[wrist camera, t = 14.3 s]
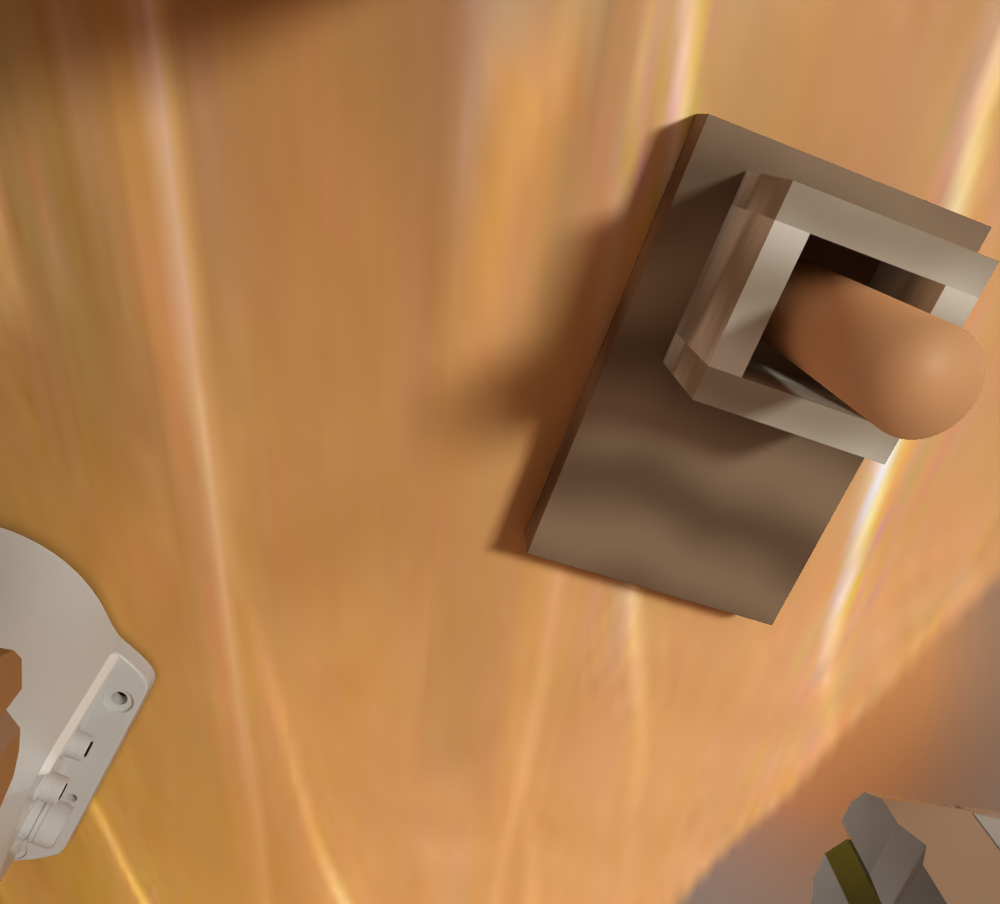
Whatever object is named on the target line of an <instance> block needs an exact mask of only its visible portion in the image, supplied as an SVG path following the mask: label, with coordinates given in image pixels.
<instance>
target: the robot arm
mask: <svg viewBox="0 0 1000 904" xmlns="http://www.w3.org/2000/svg"><path fill="white" fill-rule="evenodd" d="M154 681H155V673H154V670H153V668H152V667H151V665H150V664H149V663H148V662H147V660H146V659H145V658H144V657H143V656H141V655H140V654H139V653H138V652H137V651H136V650H135V649H134V648H133V647H131V646H130V645H129V644H128V643H127V642H126V641H124V640H123V639H122V638H121V637H120V636H119V635H118V633H117V632H116V630H115V629H114V627H113V625H112V624H111V622H110V620H109V618H108V616H107V614H106V612H105V610H104V608H103V606H102V604H101V603H100V601H99V599H98V598H97V596H96V595H95V593H94V592H93V590H92V589H91V588H90V587H89V585H88V584H87V583H86V582H85V581H84V580H83V578H82V577H81V576H80V575H79V574H78V573H77V572H76V571H75V570H74V569H73V568H71V567H70V566H69V565H68V564H67V563H66V562H64V561H63V560H62V559H61V558H59V557H58V556H57V555H55V554H54V553H52V552H51V551H49V550H48V549H46V548H45V547H43V546H41V545H40V544H38V543H36V542H34V541H32V540H30V539H28V538H26V537H24V536H22V535H19V534H17V533H15V532H12V531H9V530H6V529H4V528H0V881H1V879H2V878H3V876H4V875H5V873H6V871H7V870H8V868H9V867H10V865H11V863H12V862H13V860H29V859H37V858H43V857H48V856H52V855H56V854H58V853H60V852H61V851H62V850H63V849H64V848H65V846H66V845H67V843H68V842H69V840H70V839H71V837H72V836H73V834H74V833H75V831H76V829H77V827H78V825H79V823H80V822H81V820H82V818H83V816H84V814H85V812H86V810H87V808H88V806H89V805H90V803H91V801H92V799H93V797H94V795H95V793H96V791H97V790H98V788H99V786H100V784H101V782H102V780H103V778H104V776H105V775H106V773H107V771H108V769H109V767H110V765H111V763H112V761H113V759H114V758H115V756H116V754H117V752H118V750H119V748H120V746H121V744H122V743H123V741H124V739H125V737H126V735H127V733H128V731H129V729H130V728H131V726H132V724H133V722H134V720H135V718H136V716H137V714H138V712H139V711H140V709H141V707H142V705H143V703H144V701H145V699H146V697H147V696H148V694H149V692H150V690H151V688H152V686H153V684H154ZM118 692H122V693H124V694H125V695H126V696H122V695H120V694H119V693H118ZM842 824H843V828H844V831H845V834H846V837H847V839H846V840H845V841H843V842H842V843H840V844H839V845H837V846H836V847H834V848H832V849H831V850H829V851H828V852H826V853H825V854H824V856H823V859H822V861H821V863H820V865H819V867H818V870H817V872H816V874H815V876H814V879H813V896H812V904H1000V812H998V811H990V810H984V809H977V808H970V807H963V806H955V807H952V806H948V805H942V804H935V803H929V802H923V801H917V800H910V799H904V798H897V797H892V796H885V795H878V794H873V793H866V792H864V793H863V794H861V795H860V796H859V797H858V798H856V799H855V800H854V801H852V802H851V804H850V806H849V807H848V810H847V811H846V813H845V815H844V817H843V819H842Z"/></svg>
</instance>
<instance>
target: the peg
mask: <svg viewBox="0 0 1000 904" xmlns="http://www.w3.org/2000/svg"><path fill="white" fill-rule="evenodd" d="M761 339H762V340H764V341H765V342H766V343H768V344H769V345H770V346H772V347H773V348H774V349H775V350H777V351H778V352H779V353H781V354H782V355H783V356H785V357H786V358H787V359H788V360H790V361H791V362H792V363H794V364H795V365H796V366H798V367H799V368H800V369H802V370H803V371H804V372H805V373H807V374H808V375H809V376H811V377H812V378H813V379H815V380H816V381H817V382H818V383H820V384H821V385H822V386H824V387H825V388H826V389H828V390H829V391H830V392H832V393H833V394H834V395H835V396H837V397H838V398H839V399H841V400H842V401H843V402H845V403H846V404H847V405H849V406H850V407H851V408H852V409H854V410H855V411H856V412H858V413H859V414H860V415H862V416H863V417H864V418H865V419H867V420H868V421H869V422H871V423H872V424H873V425H875V426H876V427H877V428H879V429H880V430H881V431H883V432H884V433H886V434H888V435H890V436H893V437H896V438H900V439H907V440H916V439H924V438H928V437H932V436H934V435H937V434H939V433H941V432H943V431H945V430H947V429H949V428H950V427H952V426H954V425H955V424H956V423H957V422H959V421H960V420H961V419H962V418H963V417H964V416H965V415H966V414H967V413H968V412H969V410H970V409H971V408H972V407H973V405H974V403H975V402H976V400H977V398H978V396H979V394H980V392H981V389H982V387H983V383H984V379H985V359H984V355H983V352H982V349H981V347H980V345H979V343H978V342H977V341H976V339H975V338H974V337H973V336H972V335H971V334H970V333H969V332H968V331H966V330H965V329H963V328H961V327H959V326H957V325H955V324H952V323H950V322H948V321H945V320H943V319H941V318H939V317H936V316H934V315H932V314H929V313H927V312H925V311H923V310H920V309H918V308H916V307H913V306H911V305H909V304H907V303H904V302H902V301H900V300H897V299H895V298H893V297H891V296H888V295H886V294H884V293H881V292H879V291H877V290H874V289H872V288H870V287H868V286H865V285H863V284H861V283H858V282H856V281H854V280H852V279H849V278H847V277H845V276H842V275H840V274H838V273H836V272H833V271H831V270H829V269H826V268H824V267H822V266H820V265H817V264H815V263H813V262H810V261H807V260H802V259H798V260H797V262H796V264H795V267H794V269H793V271H792V273H791V275H790V277H789V279H788V281H787V283H786V285H785V288H784V290H783V292H782V294H781V296H780V298H779V300H778V302H777V304H776V306H775V308H774V311H773V313H772V315H771V317H770V319H769V321H768V323H767V325H766V327H765V329H764V332H763V334H762V336H761Z"/></svg>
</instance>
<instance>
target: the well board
mask: <svg viewBox="0 0 1000 904" xmlns="http://www.w3.org/2000/svg"><path fill="white" fill-rule="evenodd" d="M990 229H991V227H990V226H987V225H985V224H982V223H980V222H977V221H975V220H972V219H970V218H967V217H965V216H962V215H960V214H957V213H955V212H952V211H950V210H947V209H945V208H942V207H940V206H937V205H935V204H932V203H930V202H927V201H925V200H922V199H920V198H917V197H915V196H912V195H910V194H907V193H905V192H902V191H900V190H897V189H895V188H892V187H890V186H887V185H885V184H882V183H880V182H877V181H875V180H872V179H870V178H867V177H865V176H862V175H860V174H857V173H855V172H852V171H850V170H847V169H845V168H842V167H840V166H837V165H835V164H832V163H830V162H827V161H825V160H822V159H820V158H817V157H815V156H812V155H810V154H807V153H805V152H802V151H800V150H797V149H795V148H792V147H790V146H787V145H785V144H782V143H780V142H777V141H775V140H772V139H770V138H767V137H765V136H762V135H760V134H757V133H755V132H752V131H750V130H747V129H745V128H742V127H740V126H737V125H735V124H732V123H730V122H727V121H725V120H722V119H720V118H717V117H715V116H712V115H710V114H696V116H695V119H694V121H693V123H692V126H691V128H690V131H689V133H688V136H687V138H686V141H685V143H684V146H683V148H682V150H681V153H680V155H679V158H678V160H677V163H676V165H675V168H674V170H673V172H672V175H671V177H670V180H669V182H668V185H667V187H666V190H665V192H664V195H663V197H662V199H661V202H660V204H659V207H658V209H657V212H656V214H655V217H654V219H653V221H652V224H651V226H650V229H649V231H648V234H647V236H646V239H645V241H644V244H643V246H642V248H641V251H640V253H639V256H638V258H637V261H636V263H635V266H634V268H633V270H632V273H631V275H630V278H629V280H628V283H627V285H626V288H625V290H624V293H623V295H622V297H621V300H620V302H619V305H618V307H617V310H616V312H615V315H614V317H613V320H612V322H611V324H610V327H609V329H608V332H607V334H606V337H605V339H604V342H603V344H602V346H601V349H600V351H599V354H598V356H597V359H596V361H595V364H594V366H593V369H592V371H591V373H590V376H589V378H588V381H587V383H586V386H585V388H584V391H583V393H582V395H581V398H580V400H579V403H578V405H577V408H576V410H575V413H574V415H573V418H572V420H571V422H570V425H569V427H568V430H567V432H566V435H565V437H564V440H563V442H562V445H561V447H560V449H559V452H558V454H557V457H556V459H555V462H554V464H553V467H552V469H551V471H550V474H549V476H548V479H547V481H546V484H545V486H544V489H543V491H542V494H541V496H540V498H539V501H538V503H537V506H536V508H535V511H534V513H533V516H532V518H531V520H530V523H529V525H528V528H527V530H526V533H525V541H526V548H527V553H528V554H531V555H535V556H538V557H542V558H545V559H548V560H552V561H555V562H559V563H562V564H565V565H569V566H572V567H576V568H579V569H582V570H586V571H589V572H593V573H596V574H599V575H603V576H606V577H610V578H613V579H616V580H620V581H623V582H627V583H630V584H633V585H637V586H640V587H644V588H647V589H650V590H654V591H657V592H661V593H664V594H667V595H671V596H674V597H678V598H681V599H684V600H688V601H691V602H695V603H698V604H701V605H705V606H708V607H712V608H715V609H718V610H722V611H725V612H729V613H732V614H735V615H739V616H742V617H746V618H749V619H752V620H756V621H759V622H763V623H766V624H769V625H772V624H773V622H774V620H775V619H776V617H777V615H778V613H779V611H780V610H781V608H782V606H783V604H784V602H785V600H786V599H787V597H788V595H789V593H790V591H791V590H792V588H793V586H794V584H795V582H796V581H797V579H798V577H799V575H800V573H801V572H802V570H803V568H804V566H805V564H806V562H807V561H808V559H809V557H810V555H811V553H812V552H813V550H814V548H815V546H816V544H817V543H818V541H819V539H820V537H821V535H822V533H823V532H824V530H825V528H826V526H827V524H828V523H829V521H830V519H831V517H832V515H833V514H834V512H835V510H836V508H837V506H838V504H839V503H840V501H841V499H842V497H843V495H844V494H845V492H846V490H847V488H848V486H849V485H850V483H851V481H852V479H853V477H854V476H855V474H856V472H857V470H858V468H859V466H860V465H861V463H862V461H863V459H864V458H867V459H870V460H873V461H876V462H879V463H882V464H885V463H886V461H887V460H888V458H889V456H890V454H891V452H892V451H893V449H894V447H895V445H896V444H897V442H898V440H899V438H896V437H893V436H890V435H888V434H886V433H884V432H883V431H881V430H880V429H879V428H877V427H876V426H875V425H873V424H872V423H871V422H869V421H868V420H867V419H865V418H864V417H863V416H862V415H860V414H859V413H858V412H856V411H855V410H854V409H852V408H851V407H850V406H849V405H847V404H846V403H845V402H843V401H842V400H841V399H839V398H838V397H837V396H835V395H834V394H833V393H832V392H830V391H829V390H828V389H826V388H825V387H824V386H822V385H821V384H820V383H818V382H817V381H816V380H815V379H813V378H812V377H811V376H809V375H808V374H807V373H805V372H804V371H803V370H802V369H800V368H799V367H798V366H796V365H795V364H794V363H792V362H791V361H790V360H788V359H787V358H786V357H785V356H783V355H782V354H781V353H779V352H778V351H777V350H775V349H774V348H773V347H772V346H770V345H769V344H768V343H766V342H765V341H764V340H762V339H761V336H762V334H763V332H764V329H765V327H766V325H767V323H768V321H769V319H770V317H771V315H772V313H773V311H774V308H775V306H776V304H777V302H778V300H779V298H780V296H781V294H782V292H783V290H784V288H785V285H786V283H787V281H788V279H789V277H790V275H791V273H792V271H793V269H794V267H795V264H796V262H797V260H798V259H802V260H807V261H810V262H813V263H815V264H817V265H820V266H822V267H824V268H826V269H829V270H831V271H833V272H836V273H838V274H840V275H842V276H845V277H847V278H849V279H852V280H854V281H856V282H858V283H861V284H863V285H865V286H868V287H870V288H872V289H874V290H877V291H879V292H881V293H884V294H886V295H888V296H891V297H893V298H895V299H897V300H900V301H902V302H904V303H907V304H909V305H911V306H913V307H916V308H918V309H920V310H923V311H925V312H927V313H929V314H932V315H934V316H936V317H939V318H941V319H943V320H945V321H948V322H950V323H952V324H955V325H957V326H959V327H961V328H962V326H963V325H964V323H965V321H966V319H967V318H968V316H969V314H970V312H971V310H972V309H973V307H974V305H975V303H976V302H977V300H978V298H979V296H980V294H981V293H982V291H983V289H984V287H985V286H986V284H987V282H988V280H989V278H990V277H991V275H992V273H993V271H994V270H995V268H996V266H997V264H998V263H999V261H997V260H994V259H992V258H989V257H987V256H984V255H982V254H979V253H978V251H979V249H980V247H981V245H982V244H983V242H984V240H985V238H986V236H987V235H988V233H989V231H990Z"/></svg>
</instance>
